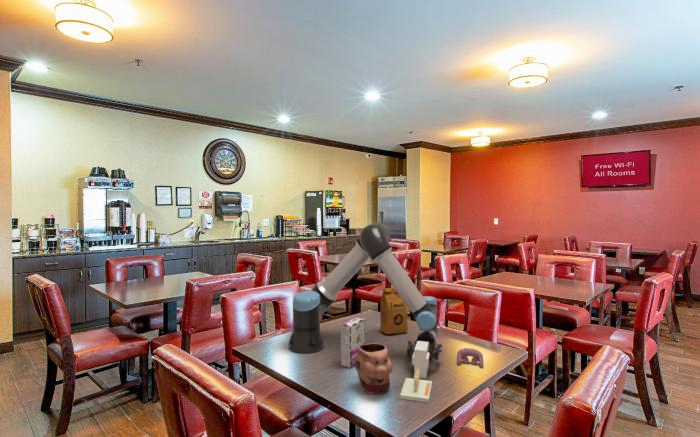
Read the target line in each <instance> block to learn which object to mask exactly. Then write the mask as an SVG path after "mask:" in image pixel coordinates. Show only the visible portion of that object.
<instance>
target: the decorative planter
mask: <svg viewBox="0 0 700 437" xmlns="http://www.w3.org/2000/svg"><path fill="white" fill-rule="evenodd" d="M393 366H394V365H393V363H392V361H391V357H390V354H389V349H388V348H387V346H386V345H384V344H382V343H375V342H372V343H365V344H363V345H361V346H359V349H358V353H357V354H356V356H355V366H354V368H355V370H356V374H357V376H358V379H359V383H360V387H361V389H362V390H363V391H365V393H369V394H373V395H375V394H382V393H386V392H388V390H390V386H391V381H390V380H391V379H390V375H391V374H392V373H393V369H394V368H393Z"/></svg>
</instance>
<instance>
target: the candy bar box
mask: <svg viewBox="0 0 700 437" xmlns="http://www.w3.org/2000/svg"><path fill="white" fill-rule="evenodd" d="M365 324H366V319H365V318H361V317H353V318H351V319H349V320H347V321H345V322H343V323H341V324H340V366H342V367H345V368H349V369H352V368H355V356H356V354H357V353H358V349H359V346H361V345H363V344H366V332H365V331H366V330H365V328H366V327H365V326H366V325H365Z"/></svg>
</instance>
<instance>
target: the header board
mask: <svg viewBox="0 0 700 437" xmlns="http://www.w3.org/2000/svg"><path fill="white" fill-rule="evenodd" d="M432 387H433V380H427V379H421V378H419V369H416V372H415V375H413V378H410V377H405V380H404V382H403V385H402V388H401V392H400V394H399V399H400V400H407V401H412V402H421V403H429V402H430V397H431V392H432Z"/></svg>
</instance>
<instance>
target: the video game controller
mask: <svg viewBox="0 0 700 437" xmlns="http://www.w3.org/2000/svg"><path fill="white" fill-rule="evenodd" d="M468 357H472V358H471V360H470V361H471V363H472V365H477V364H478V363H479V367H480V369H482V368H483V367H484V356H483V353H482V352H481V351H480V350H479V349H474V348H470V347H468V348H467V347H465V348H460V349H459V350H458V351H457V354H456V364H457V366H461V362H463V363H464V364H468V363H469V362H470V361H469V358H468Z"/></svg>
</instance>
